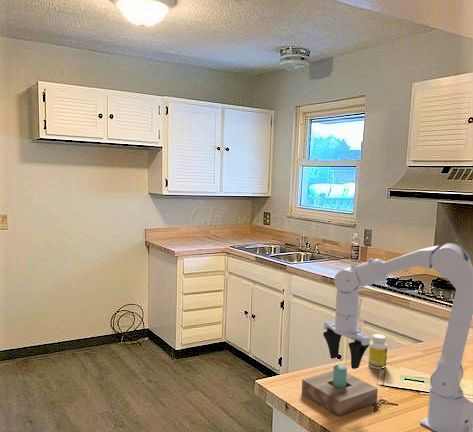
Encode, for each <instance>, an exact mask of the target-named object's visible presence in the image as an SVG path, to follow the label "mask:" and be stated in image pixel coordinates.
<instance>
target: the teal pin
mask: <svg viewBox="0 0 473 432" xmlns="http://www.w3.org/2000/svg"><path fill="white" fill-rule="evenodd" d="M332 371H333V386H334V387H336V388H337V389H339V390H340V389H343V388H346V379H347V373H348V368H347V367H346V366H345V365H342V364H341V365H340V364H337V365H336V364H335V365H334V366H333V370H332Z"/></svg>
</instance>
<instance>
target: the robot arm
mask: <svg viewBox="0 0 473 432" xmlns="http://www.w3.org/2000/svg"><path fill="white" fill-rule="evenodd" d="M415 267H421V268H424V269H427V270H431V269H434V270H435V271H436V273H438V274H439V275H441V276H443V277H444V278H446V279H447V280H448V282H450V284H451V285H452V286H453V288H454V289H455V293H454V298H453V301H452V302H453V303H452V306H451V311H450V314H449V315H450V316H449V319H448V324H447V328H446V331H445V335H444V341H443V344H442V350H441V352H440V357H439V360H437V362H436V364H435V368H434V370H433V373H432V374H431V375H430V377H429V383H430V384H429V393H428V408H427V409H428V411H427V417H425V418H423V419H420V420H419V424H421V425H423V426H424V427H426V428H429V429H430V430H432V431H434V432H473V401H471V400H470V399H468V398H467V397H465V395H464V390H463V389H462V387H461V382H462V378H463V377H464V370H463V369H464V368H463V364H462V361H463V358H464V353H465V348H466V344H467V340H468V336H469V332H470V328H471V323H472V319H473V264H472V262H471V257H470V255H469V254H468V253H467V252H466V251H465V250H464V249H463V248H462V247H461V246H460V245H459V244H456V243H454V242H453V243H452V242H448V243H444V244H442V245H441V246H439V245H433V246H430V247H425V248H420V249H417V250H415V251H413V252H409V253H406V254H404V255H400V256H397V257H394V258H392V259H389V260H386V261H384V260H383V259H380V258H374V257H370V258H367V261H366V262H362V263H360V264H355V263H353V264H351V265H350V267H346V268H344V269H342V270H339V272H337V273H336V274H335V276H334V279H333V282H334V286H335V287H336V297H335V299H336V300H335V322H332V321H331V320H329V321H328V320H327V321H324V322H323V330H326V331H323V333H322V336H323V338H324V339H325V342H326V344H327V347H328V350H329V356H330V359H331V360H333V359H336V358H338V357H339V354H340V352H339V351H340V342H341V339H342V336H343V337H345V338H347V339H350V340H353V341H352V342H348V347H349V351H350V366H351V369H352V370H356V369H359V368H360V364H361V361H362V359H363V356H364V355H365V352H366V351H367V349H368V348H369V346H370V342H371V341H370V338H371V337H370V336H368V335H366V334H365V333H363V332H362V331H360V330H359V327H358V318H359V314H358V313H359V298H360V297H359V290H360V289H359V287H362V288H363V287H366V286H367V287H368V286H370V285H374V284H377V283H380V282H384V281H387V278H388V276H389V275H390V274H392V273H397V272H401V271H406V270H408V269H411V268H415Z"/></svg>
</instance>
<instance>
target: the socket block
mask: <svg viewBox="0 0 473 432" xmlns="http://www.w3.org/2000/svg"><path fill="white" fill-rule="evenodd" d="M378 390H379V389H378V387H376V386H374V385H372V384H370V383H368V382H366V381H364V380H362V379H360V378H358V377H356V376H355V375H352V374H351V373H348V372H347V379H346V388H343V389H340V390H339V389H337V388H336V387H334V386H333V370H330V371H327V372H324V373H320V374H317V375H313V376H309V377H307V378H303V379H302V380H301V394H302V395H303V396H305V397H306V398H307V399H309V400H311V401H313V402H314V401H315V402H314V403H316V402H317V403H318V405H319V404H320V406H321V407H322V408H324V409H325V408H326V409H325V410H327V411H328V412H330V411H331V412H330V413H332V414H333V413H334V414H333V415H334V416H336V415H337V416H336V417H338V416H340V417H342V415H343V416H345V415H348V414H351V413H353V412H356V411H359V410H362V409H365V408H367V407H370V406H372V405H375V404H378V392H379V391H378ZM317 403H316V404H317Z"/></svg>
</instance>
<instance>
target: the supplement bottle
mask: <svg viewBox="0 0 473 432" xmlns="http://www.w3.org/2000/svg"><path fill="white" fill-rule="evenodd" d="M371 337H372V341H370V342H369V346H368V348H369V350H368V351H369V352H368V366H369V367H370V368H371V369H375V370H376V369H377V370H382V369H381V368H382V367H383V366H386V367H387V358H388V357H387V356H388V344H387V343H386V335H383V334H380V333H376V334H372V336H371Z"/></svg>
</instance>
